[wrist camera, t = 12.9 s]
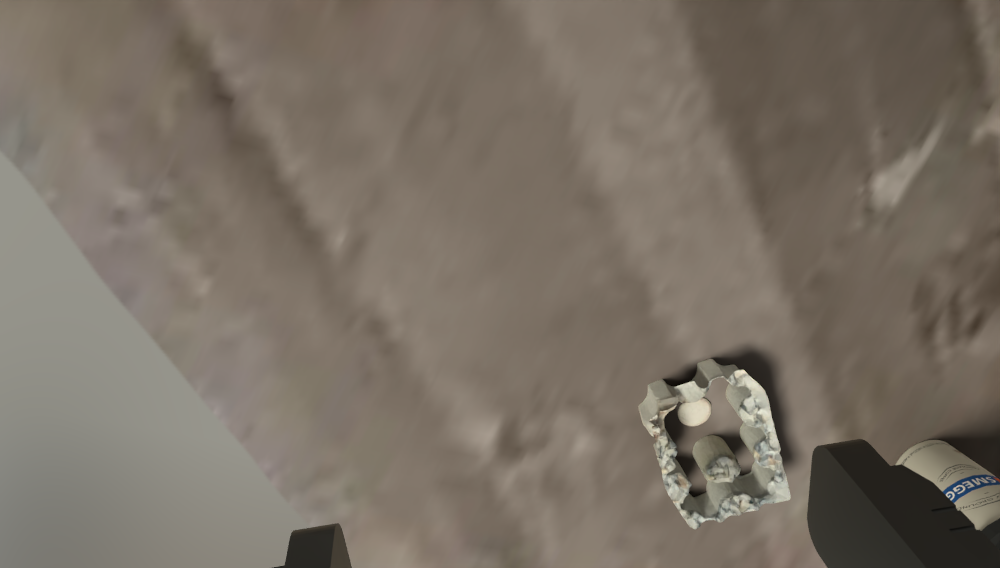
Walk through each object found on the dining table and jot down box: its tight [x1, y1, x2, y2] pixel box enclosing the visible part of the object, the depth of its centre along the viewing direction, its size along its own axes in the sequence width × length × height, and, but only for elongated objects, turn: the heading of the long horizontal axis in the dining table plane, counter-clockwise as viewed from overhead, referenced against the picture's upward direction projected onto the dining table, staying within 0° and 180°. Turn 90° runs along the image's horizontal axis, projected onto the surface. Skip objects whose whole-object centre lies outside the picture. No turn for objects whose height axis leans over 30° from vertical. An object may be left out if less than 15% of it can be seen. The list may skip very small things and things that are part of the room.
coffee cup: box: [896, 440, 1000, 550], centre depth 49 cm, size 7×7×10 cm
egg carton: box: [639, 359, 791, 529], centre depth 48 cm, size 11×8×4 cm
